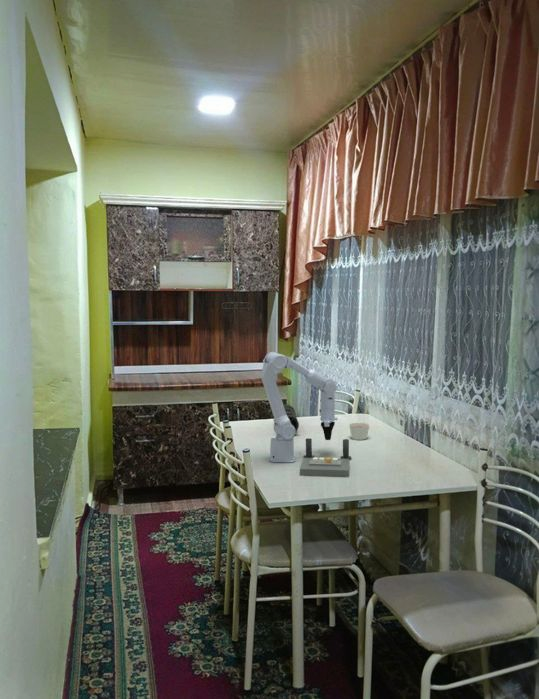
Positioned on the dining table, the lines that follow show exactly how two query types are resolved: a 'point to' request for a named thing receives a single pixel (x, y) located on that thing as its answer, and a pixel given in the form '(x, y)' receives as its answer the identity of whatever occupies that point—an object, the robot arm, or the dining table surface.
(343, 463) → the breaker panel
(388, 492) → the dining table surface
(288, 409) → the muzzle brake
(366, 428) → the candle
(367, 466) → the dining table surface
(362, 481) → the dining table surface
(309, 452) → the gray flanged cylinder
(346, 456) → the dark flanged peg
